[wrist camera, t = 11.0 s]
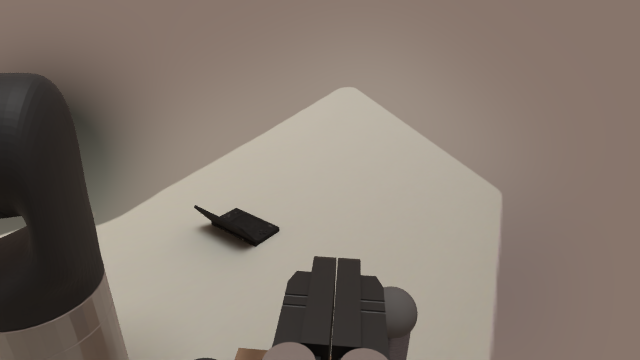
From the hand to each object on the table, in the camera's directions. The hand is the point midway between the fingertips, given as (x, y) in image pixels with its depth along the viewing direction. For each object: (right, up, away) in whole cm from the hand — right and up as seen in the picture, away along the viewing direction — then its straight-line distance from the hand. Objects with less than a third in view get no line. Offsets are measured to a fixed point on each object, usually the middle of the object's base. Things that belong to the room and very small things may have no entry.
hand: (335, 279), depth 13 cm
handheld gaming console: (-15, -6, +57) cm, 59 cm away
